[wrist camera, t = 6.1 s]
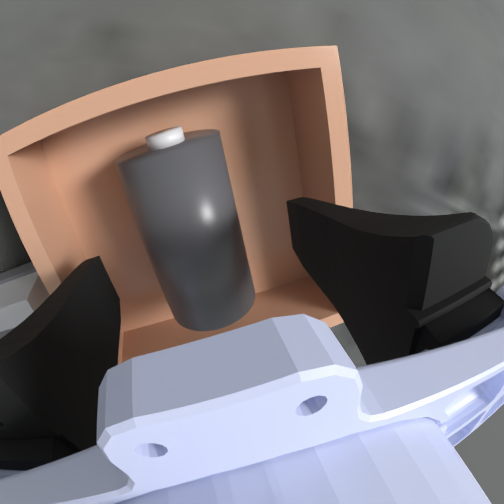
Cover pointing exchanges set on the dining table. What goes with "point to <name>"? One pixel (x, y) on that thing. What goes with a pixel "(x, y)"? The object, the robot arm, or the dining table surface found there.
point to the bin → (238, 163)
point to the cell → (190, 225)
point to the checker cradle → (19, 296)
